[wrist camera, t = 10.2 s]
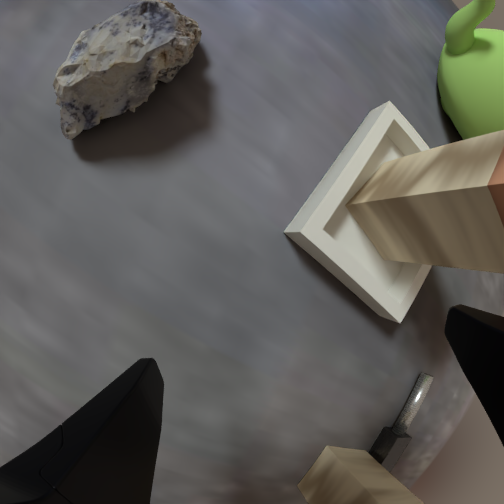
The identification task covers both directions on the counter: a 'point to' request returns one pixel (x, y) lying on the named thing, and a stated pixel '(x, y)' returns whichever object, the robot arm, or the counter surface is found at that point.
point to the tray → (347, 228)
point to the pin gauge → (400, 427)
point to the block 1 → (352, 480)
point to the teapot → (473, 72)
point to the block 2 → (439, 206)
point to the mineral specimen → (122, 63)
